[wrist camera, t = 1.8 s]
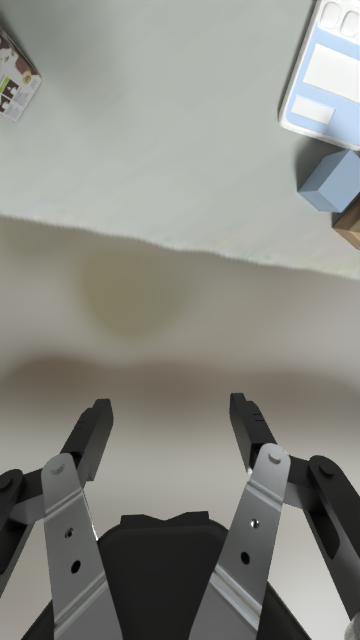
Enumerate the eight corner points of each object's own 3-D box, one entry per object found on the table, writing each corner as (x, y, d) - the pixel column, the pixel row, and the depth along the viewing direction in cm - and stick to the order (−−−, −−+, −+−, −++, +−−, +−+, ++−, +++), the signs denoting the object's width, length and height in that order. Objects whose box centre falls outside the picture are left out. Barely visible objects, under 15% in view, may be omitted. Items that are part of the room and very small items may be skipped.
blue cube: (323, 156, 28) (350, 148, 24) (345, 178, 30) (374, 174, 26) (297, 192, 31) (317, 190, 26) (318, 210, 32) (341, 212, 28)
